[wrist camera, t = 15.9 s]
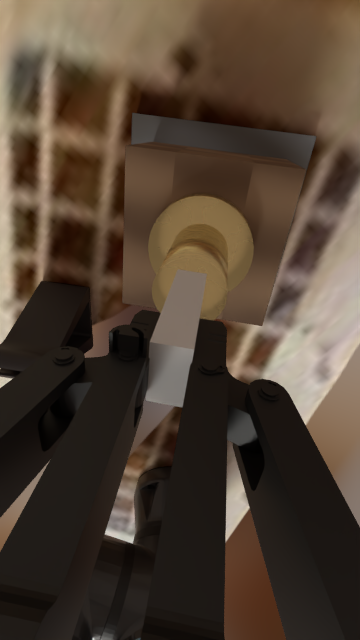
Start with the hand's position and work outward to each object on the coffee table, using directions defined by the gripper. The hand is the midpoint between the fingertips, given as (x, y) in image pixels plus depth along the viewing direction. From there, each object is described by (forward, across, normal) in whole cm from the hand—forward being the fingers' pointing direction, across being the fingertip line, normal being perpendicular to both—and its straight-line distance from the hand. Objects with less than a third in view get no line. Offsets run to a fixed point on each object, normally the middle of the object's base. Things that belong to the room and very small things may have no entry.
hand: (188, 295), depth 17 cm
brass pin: (+17, 0, 0) cm, 17 cm away
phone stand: (+19, +16, +15) cm, 29 cm away
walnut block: (+19, 0, 0) cm, 19 cm away
